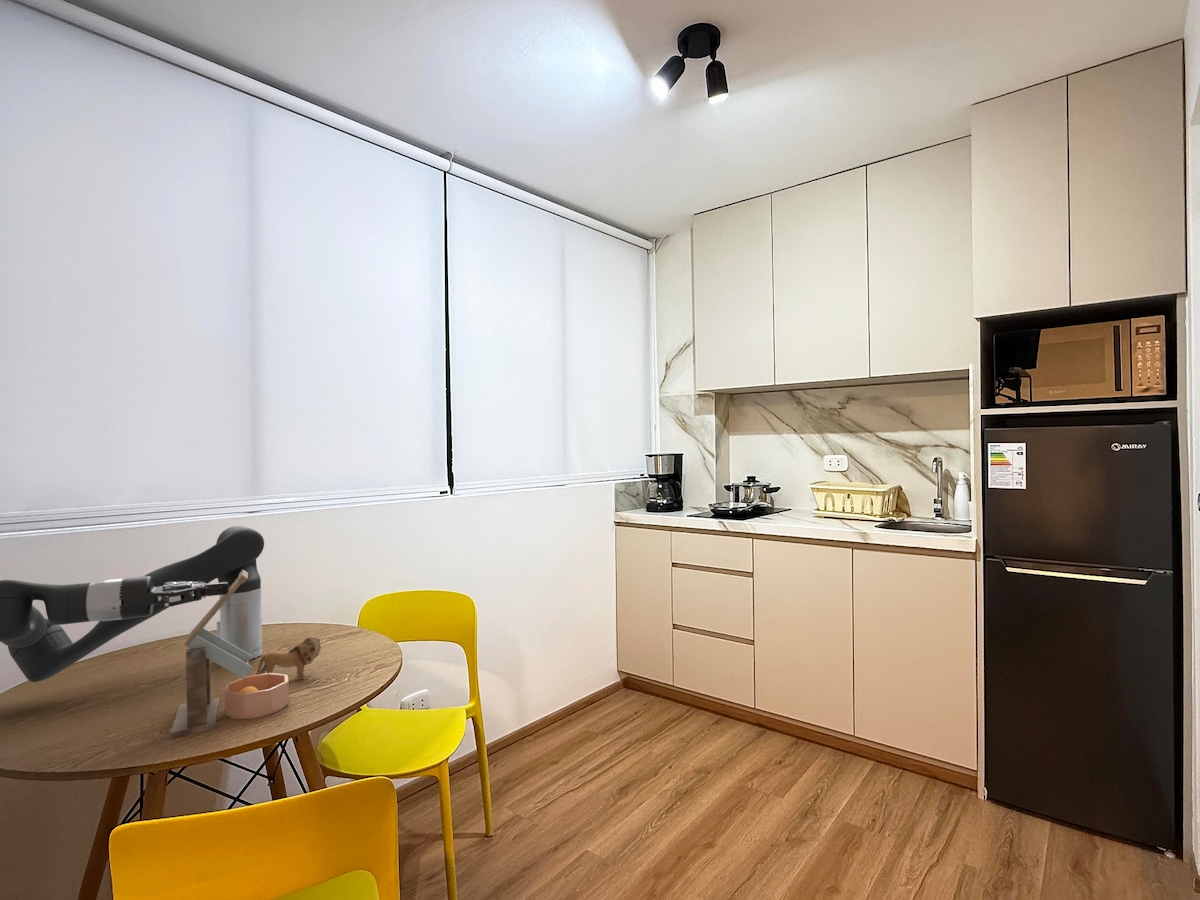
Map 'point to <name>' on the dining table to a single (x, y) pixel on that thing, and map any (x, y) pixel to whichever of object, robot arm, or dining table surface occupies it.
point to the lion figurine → (292, 657)
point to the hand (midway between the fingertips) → (228, 587)
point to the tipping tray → (217, 646)
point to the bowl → (256, 696)
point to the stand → (196, 697)
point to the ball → (248, 690)
